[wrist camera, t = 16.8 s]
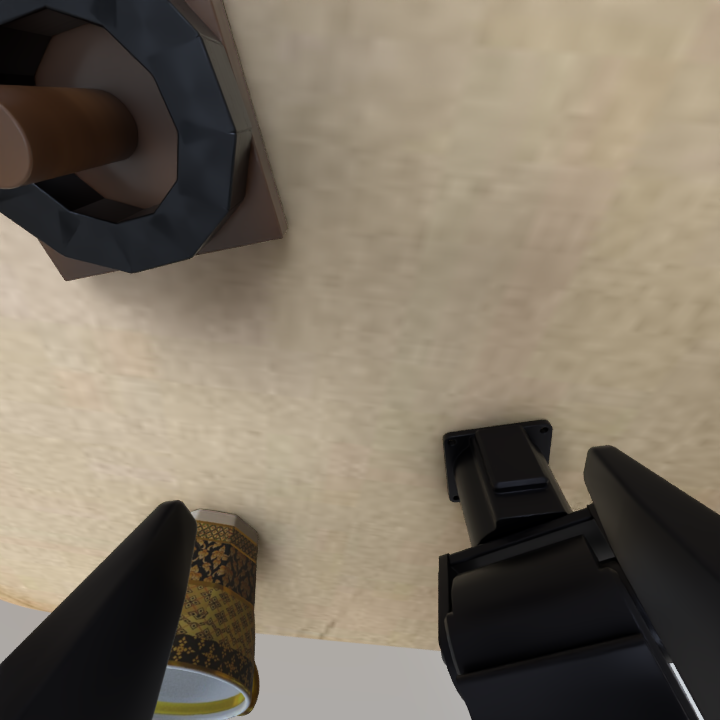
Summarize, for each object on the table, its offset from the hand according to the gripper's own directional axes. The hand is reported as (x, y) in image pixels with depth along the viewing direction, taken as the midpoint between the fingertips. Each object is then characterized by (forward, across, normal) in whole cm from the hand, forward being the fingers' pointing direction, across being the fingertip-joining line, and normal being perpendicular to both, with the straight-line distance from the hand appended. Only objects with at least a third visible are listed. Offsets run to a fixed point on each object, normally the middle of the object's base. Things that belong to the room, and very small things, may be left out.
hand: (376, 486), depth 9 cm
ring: (+10, +8, -8) cm, 15 cm away
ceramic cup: (+12, +15, +20) cm, 28 cm away
